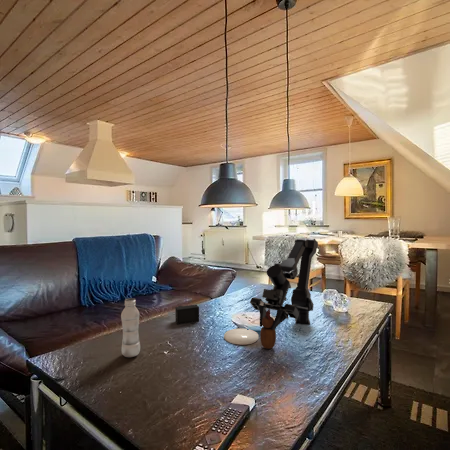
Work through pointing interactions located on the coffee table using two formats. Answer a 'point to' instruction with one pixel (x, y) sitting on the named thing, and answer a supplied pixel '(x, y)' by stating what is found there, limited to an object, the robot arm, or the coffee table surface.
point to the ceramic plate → (241, 336)
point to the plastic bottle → (130, 329)
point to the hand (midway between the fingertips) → (266, 327)
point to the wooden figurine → (267, 332)
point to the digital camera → (187, 314)
